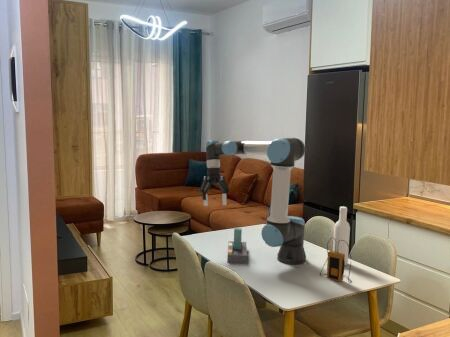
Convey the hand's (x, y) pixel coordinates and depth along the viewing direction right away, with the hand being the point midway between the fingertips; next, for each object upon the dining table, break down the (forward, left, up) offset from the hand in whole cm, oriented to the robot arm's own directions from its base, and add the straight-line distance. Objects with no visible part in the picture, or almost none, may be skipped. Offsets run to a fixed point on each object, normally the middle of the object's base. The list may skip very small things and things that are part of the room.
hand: (215, 205), depth 247 cm
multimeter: (-64, -34, -25) cm, 76 cm away
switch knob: (-12, -8, -22) cm, 26 cm away
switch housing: (-17, -5, -24) cm, 30 cm away
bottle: (-49, -49, -25) cm, 73 cm away
